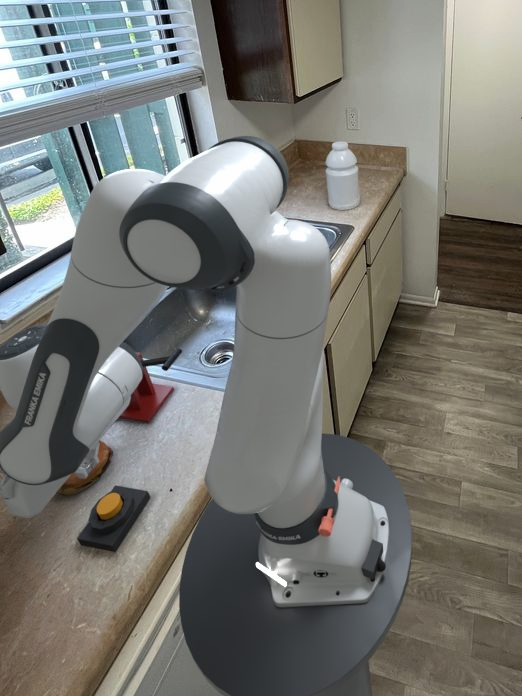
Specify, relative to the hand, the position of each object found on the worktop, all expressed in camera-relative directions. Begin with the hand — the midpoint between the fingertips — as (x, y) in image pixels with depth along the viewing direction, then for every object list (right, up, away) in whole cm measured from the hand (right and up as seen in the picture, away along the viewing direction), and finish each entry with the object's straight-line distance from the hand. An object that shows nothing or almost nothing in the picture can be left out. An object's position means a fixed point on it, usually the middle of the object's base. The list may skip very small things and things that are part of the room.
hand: (88, 469), depth 74 cm
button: (0, -10, +5) cm, 11 cm away
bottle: (+27, +41, +120) cm, 129 cm away
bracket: (-9, -3, +29) cm, 30 cm away
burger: (-11, -10, +15) cm, 21 cm away
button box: (+1, -13, +6) cm, 15 cm away
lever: (-3, +8, +22) cm, 24 cm away
